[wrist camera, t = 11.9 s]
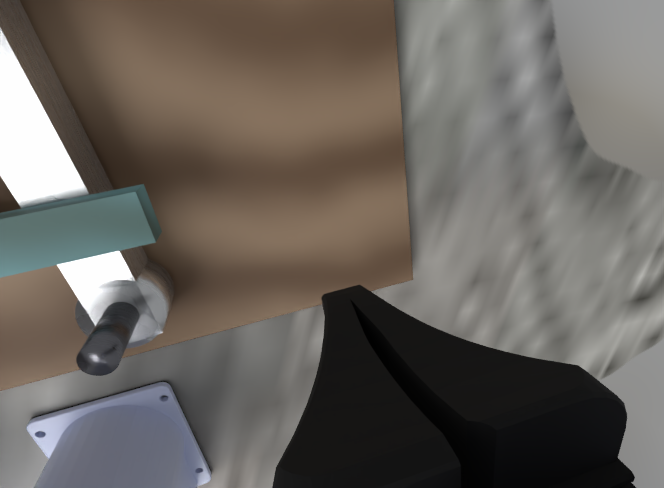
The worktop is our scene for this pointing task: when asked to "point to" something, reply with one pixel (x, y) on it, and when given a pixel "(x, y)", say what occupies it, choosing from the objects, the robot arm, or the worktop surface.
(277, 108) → the board
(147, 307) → the link
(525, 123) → the worktop surface
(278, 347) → the worktop surface
